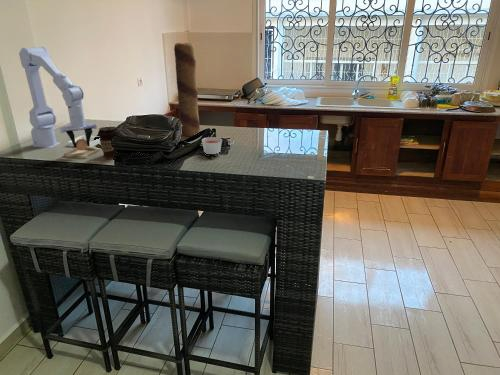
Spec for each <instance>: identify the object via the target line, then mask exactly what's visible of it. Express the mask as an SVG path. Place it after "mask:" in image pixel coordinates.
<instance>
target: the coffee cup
mask: <svg viewBox="0 0 500 375" xmlns="http://www.w3.org/2000/svg"><path fill="white" fill-rule="evenodd" d="M118 130H119V129H118V128H117V127H116V126H103V127H100V128H99V129H98V132H97V134H98V135H97V136H98V137H100V143H99V144H100V147H101V151H102V153H103V158H105V159H108V160H114V159H115V158H114V156H115V150H114V148H113V147H112V146H111V141H112V138H113V137H114V136H116V135H117V134H118V132H119V133H120V130H119V131H118ZM113 158H114V159H113Z"/></svg>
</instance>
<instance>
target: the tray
mask: <svg viewBox="0 0 500 375" xmlns="http://www.w3.org/2000/svg"><path fill="white" fill-rule="evenodd" d="M101 151H102V148H99V147H87V148H86V149H85V150H78V149H77V148H72V149H71V150H69V151H66V152H65V153H63V157H68V158H76V159H77V158H78V159H88V158H90V157H93V156H94V155H96V154H97V153H99V152H101Z"/></svg>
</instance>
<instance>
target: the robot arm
mask: <svg viewBox="0 0 500 375" xmlns="http://www.w3.org/2000/svg"><path fill="white" fill-rule="evenodd" d="M18 52H19V53H18V55H19V59H20V60H19V61H20V64H21V66H22V68H23V70H24V73H25V77H26V81H27V83H28V89H29V92H30V97H31V100H32V104H33V107H32V108H31V109H30V110H29V111H28V113H29V124H30V125H31V126H32V128H31V132H30V135H31V139H32V143H33V144H32V147H38V148H49V149H51V148H53V147H56V146H57V145H60V144H61V142H60V141H59V142H58V141H57V138H56V134H55V133H56V132H55V128H54V127H55V126H56V125H55V124H56V123H57V116H56V115H55V112H54V110H53V108H52V107H51V106H48V105H47V101H46V100H47V99H46V97H45V93H44V88H43V85H42V80H41V76H40V72H39V69H40V68H41V67H42V68H43V69H44V70H45V72H47V73H48V74H49V75H50V76H51V77H52V82H53V84H54V85H55V86H56V87H57V88H58V89H59V91H60V92H61V93H62V94H61V95H62V99H63V100H64V102H65V105H66V107H67V111H68V117H69V122H70V125H67V126H62V127H59V130H60V131H59V132H60V134H64V133H66V134H67V136H68V137H69V139H70V140H71V141H72V143H73V145H74V148H73V149H75V148H76V143H75V138H76V136H75V133H74V132H79V131H84V134H85V136H86V142H87V144H88V146H90V137H91V136H92V135H93V130H97V129H98V126H97V124H96V123H95V122H94V123H86V121H85V120H86V119H85V116H84V108H83V103H82V100H83V99H84V96H85V95H84V92H83V88H82V87H81V86H78V85H76V84H74V83H73V82H72V81H71V80H70V79H69V77H68V76H67V75H66V74H65V73H63V72H60V71H59V69H58V67H56V65H55V64H54V62H53V60H52V59H51V54H50V52H49V51H48V49H47V48H46V47H45V46H37V47H22V48H21V49H20V51H18Z"/></svg>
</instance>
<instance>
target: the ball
mask: <svg viewBox="0 0 500 375" xmlns="http://www.w3.org/2000/svg"><path fill="white" fill-rule="evenodd" d="M87 146H88V144H87V142H86V141H85V140H84V139H79V140H77V141H76V148H77V149H78V150H85V149H86V148H87Z"/></svg>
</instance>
